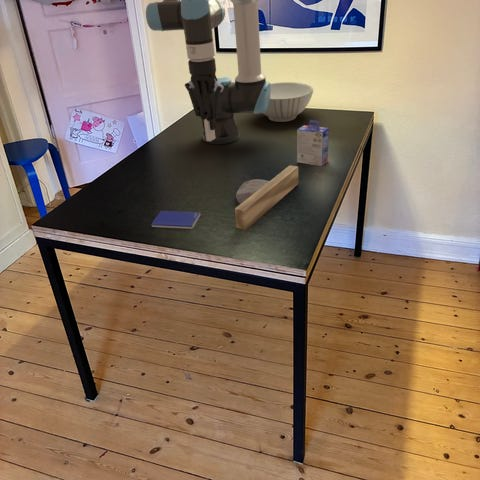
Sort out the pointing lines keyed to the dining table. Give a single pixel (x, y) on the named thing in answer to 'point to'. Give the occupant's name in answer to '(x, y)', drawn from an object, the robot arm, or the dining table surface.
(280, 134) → the dining table surface
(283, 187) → the oak board
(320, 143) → the ink cartridge box
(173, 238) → the dining table surface
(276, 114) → the decorative bowl
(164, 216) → the hard drive
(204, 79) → the robot arm
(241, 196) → the stone block
